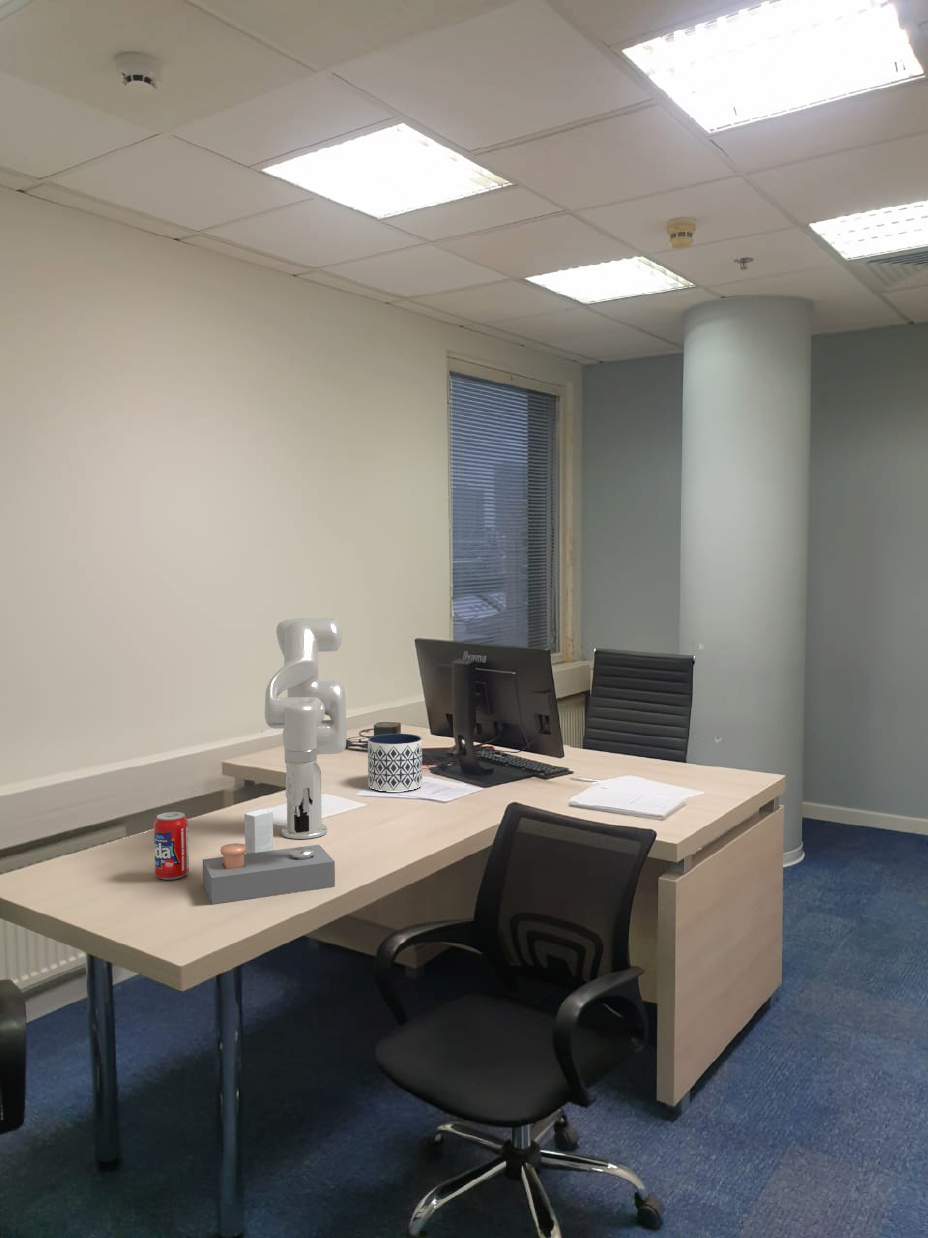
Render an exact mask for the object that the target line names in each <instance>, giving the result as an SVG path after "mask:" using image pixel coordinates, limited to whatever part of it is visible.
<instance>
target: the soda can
mask: <svg viewBox="0 0 928 1238" xmlns="http://www.w3.org/2000/svg"><path fill="white" fill-rule="evenodd" d="M153 843H154V844H153V846H154V847H153V849H154V851H153V852H154V853H153V855H154V875H155V877H157V878H159V879H160V880H163V881H174V880H179V879H182V878H184V876H186V875H187V874H189V871H190V856H189V853H190V851H189V850H190V849H189V820H188V819H187V818H186V814H185V813H184V812H180V811H171V812H170V811H169V812H162V813H160V814H157V815H156V819H155V821H154V823H153Z"/></svg>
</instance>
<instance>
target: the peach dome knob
mask: <svg viewBox="0 0 928 1238" xmlns="http://www.w3.org/2000/svg"><path fill="white" fill-rule="evenodd" d="M245 852H246V845H245V844H244V843H239V842H238V843H227V844H224V845H222V846H221V847H220V854H221V855H222V857H223V866H224V868H225V869H232V868H239V867H244V854H246V853H245Z"/></svg>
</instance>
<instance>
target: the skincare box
mask: <svg viewBox="0 0 928 1238" xmlns="http://www.w3.org/2000/svg"><path fill="white" fill-rule="evenodd" d="M273 817H274V815H273V811H272V810H268V809H264V808H260V809H257V810H254V811H250V812H246V813H244V816H243V818H244V843H245V844H244V845H246V852H245V853H244V854H249V853H257V852H265V851H273V850H275V848H274V824H273V823H274V821H273V820H274V818H273Z"/></svg>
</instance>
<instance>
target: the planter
mask: <svg viewBox="0 0 928 1238" xmlns="http://www.w3.org/2000/svg"><path fill="white" fill-rule="evenodd" d="M421 785H422V786H423V738H422V736H419V735H417V734H410V733H385V734H384V733H383V734H377V735H373V736H370V737H368V738H367V786H368V788H369V787H371V788H374V789H377V790H382V791H402V790H410V789H414V788H417V787H419V786H421ZM422 786H421V787H422ZM371 788H370V789H371Z"/></svg>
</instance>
